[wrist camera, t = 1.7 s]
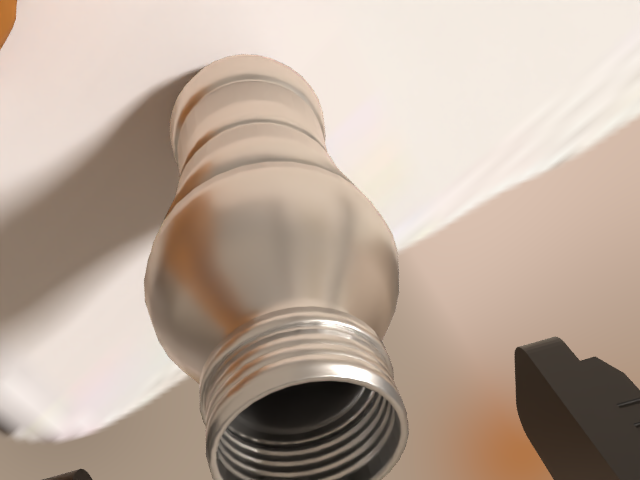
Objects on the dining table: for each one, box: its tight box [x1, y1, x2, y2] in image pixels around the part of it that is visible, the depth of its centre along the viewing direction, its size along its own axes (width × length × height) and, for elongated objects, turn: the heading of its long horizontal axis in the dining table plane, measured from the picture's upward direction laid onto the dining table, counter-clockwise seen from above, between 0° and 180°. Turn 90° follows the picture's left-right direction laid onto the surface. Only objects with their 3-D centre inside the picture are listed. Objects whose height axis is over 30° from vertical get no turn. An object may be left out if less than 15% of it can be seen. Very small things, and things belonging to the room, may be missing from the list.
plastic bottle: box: [144, 54, 409, 480], centre depth 19 cm, size 6×7×20 cm
